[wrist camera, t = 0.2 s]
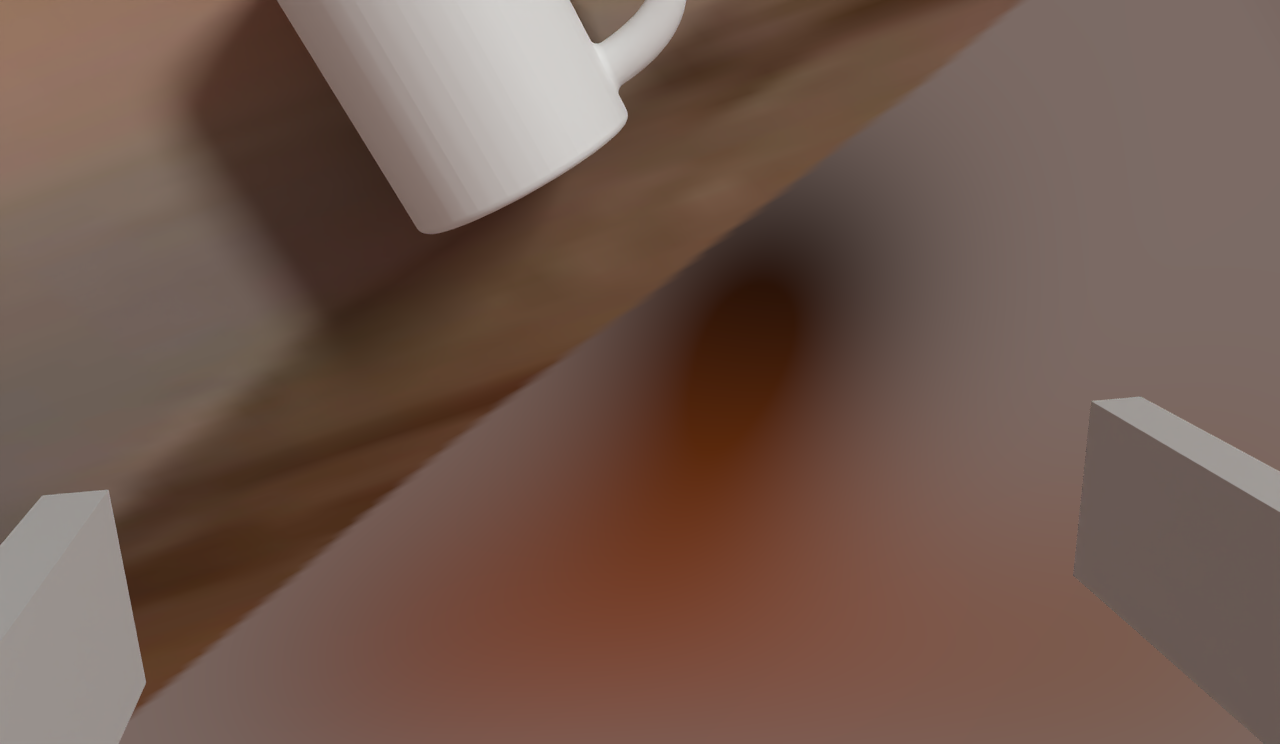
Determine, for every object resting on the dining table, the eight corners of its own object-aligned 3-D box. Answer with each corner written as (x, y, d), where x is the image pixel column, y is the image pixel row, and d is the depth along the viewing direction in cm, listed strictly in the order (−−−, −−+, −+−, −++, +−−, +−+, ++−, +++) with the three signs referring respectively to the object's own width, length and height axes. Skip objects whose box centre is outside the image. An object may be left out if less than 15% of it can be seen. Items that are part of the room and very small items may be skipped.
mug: (423, 213, 41) (418, 257, 33) (266, -43, 37) (222, -59, 30) (707, 54, 41) (766, 61, 33) (577, -218, 37) (610, -278, 30)
